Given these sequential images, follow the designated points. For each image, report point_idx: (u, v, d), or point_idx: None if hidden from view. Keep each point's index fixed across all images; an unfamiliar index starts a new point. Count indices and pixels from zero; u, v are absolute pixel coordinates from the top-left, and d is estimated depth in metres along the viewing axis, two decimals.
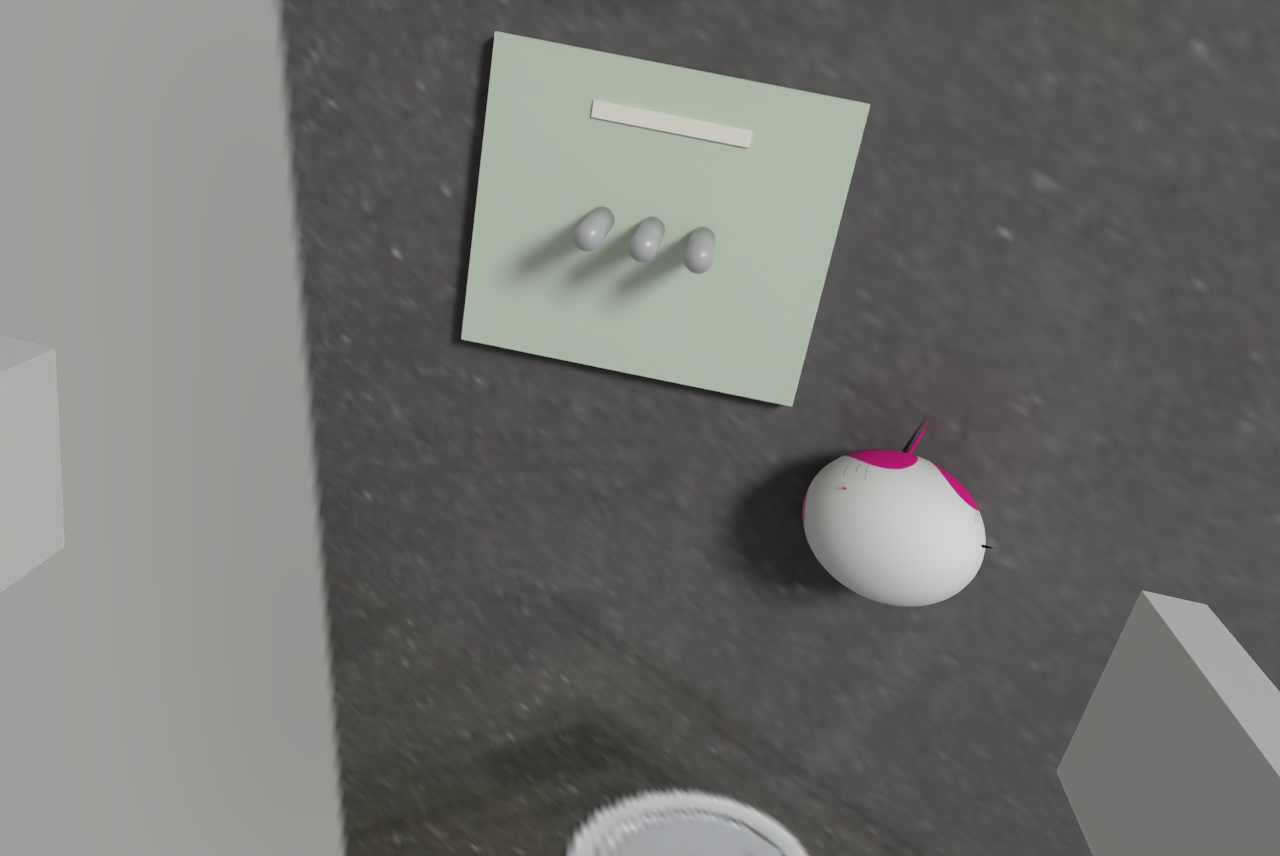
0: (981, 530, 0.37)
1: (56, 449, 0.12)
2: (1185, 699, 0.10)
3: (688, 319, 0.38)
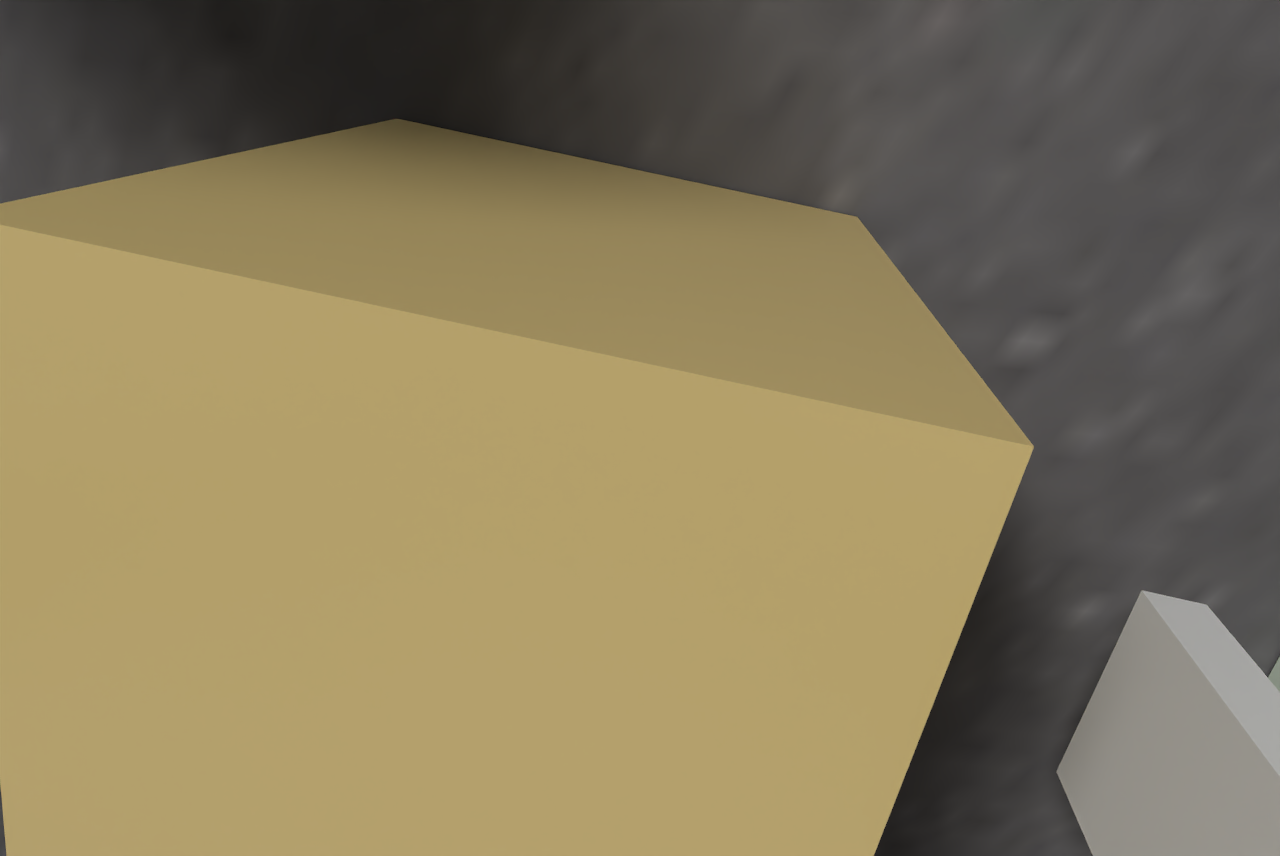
0: None
1: None
2: (1184, 699, 0.10)
3: None
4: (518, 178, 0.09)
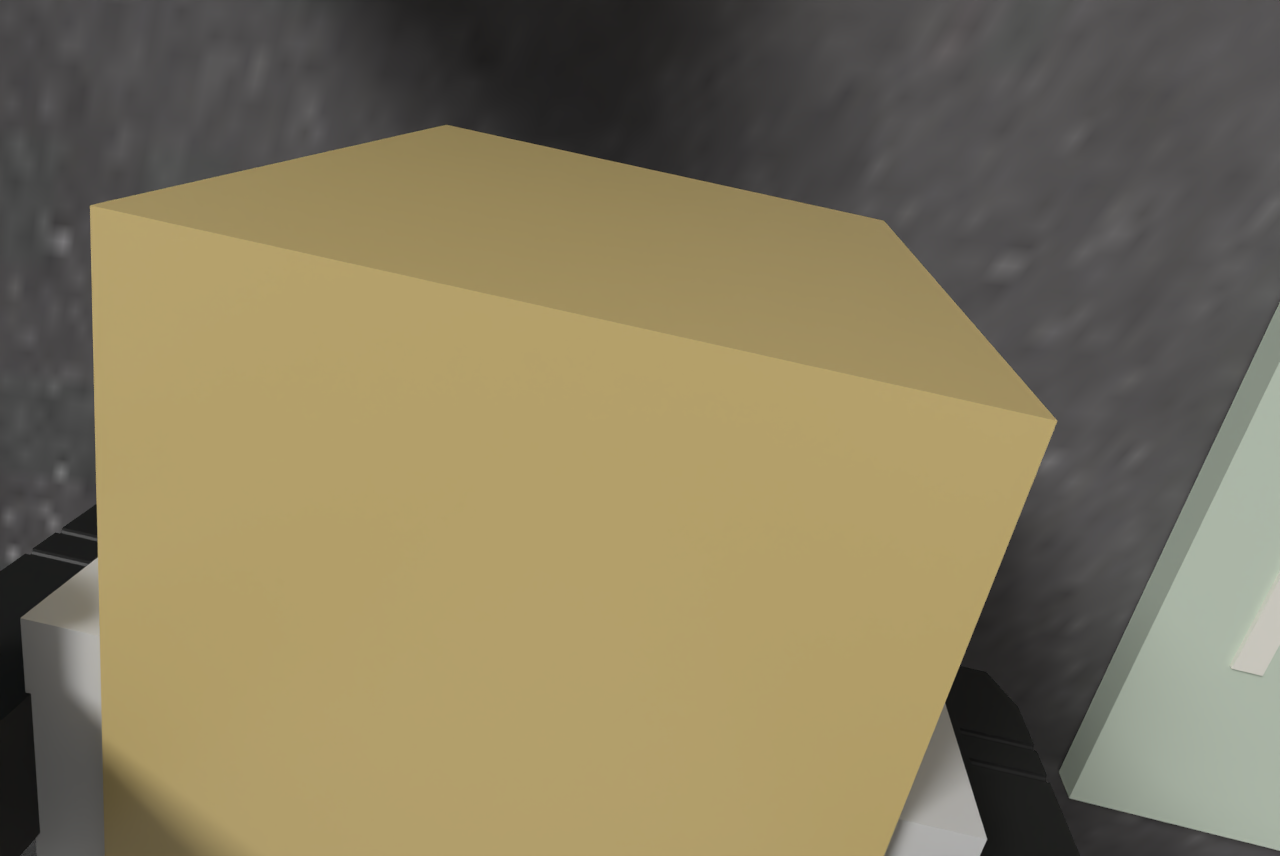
0: None
1: None
2: None
3: None
4: (567, 181, 0.10)
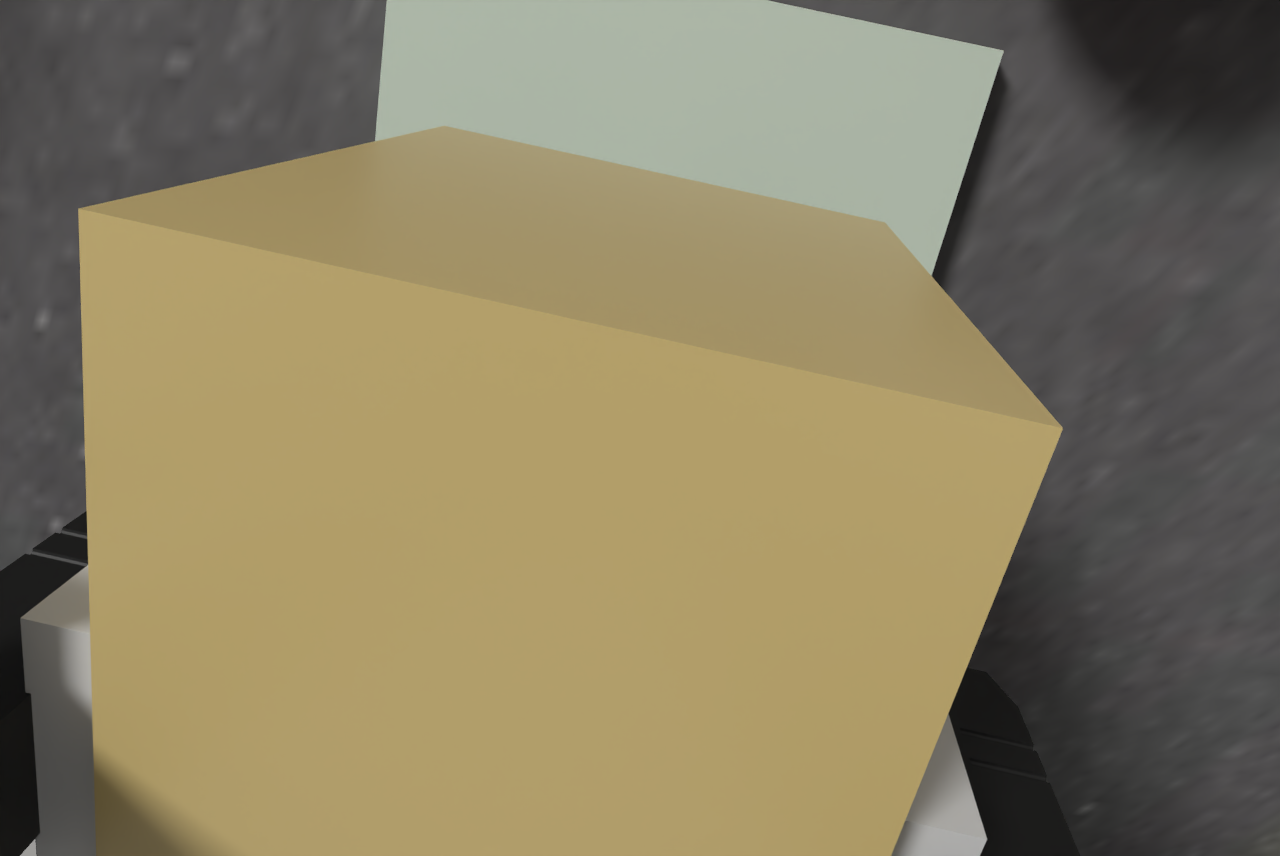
0: None
1: None
2: None
3: None
4: (565, 182, 0.10)
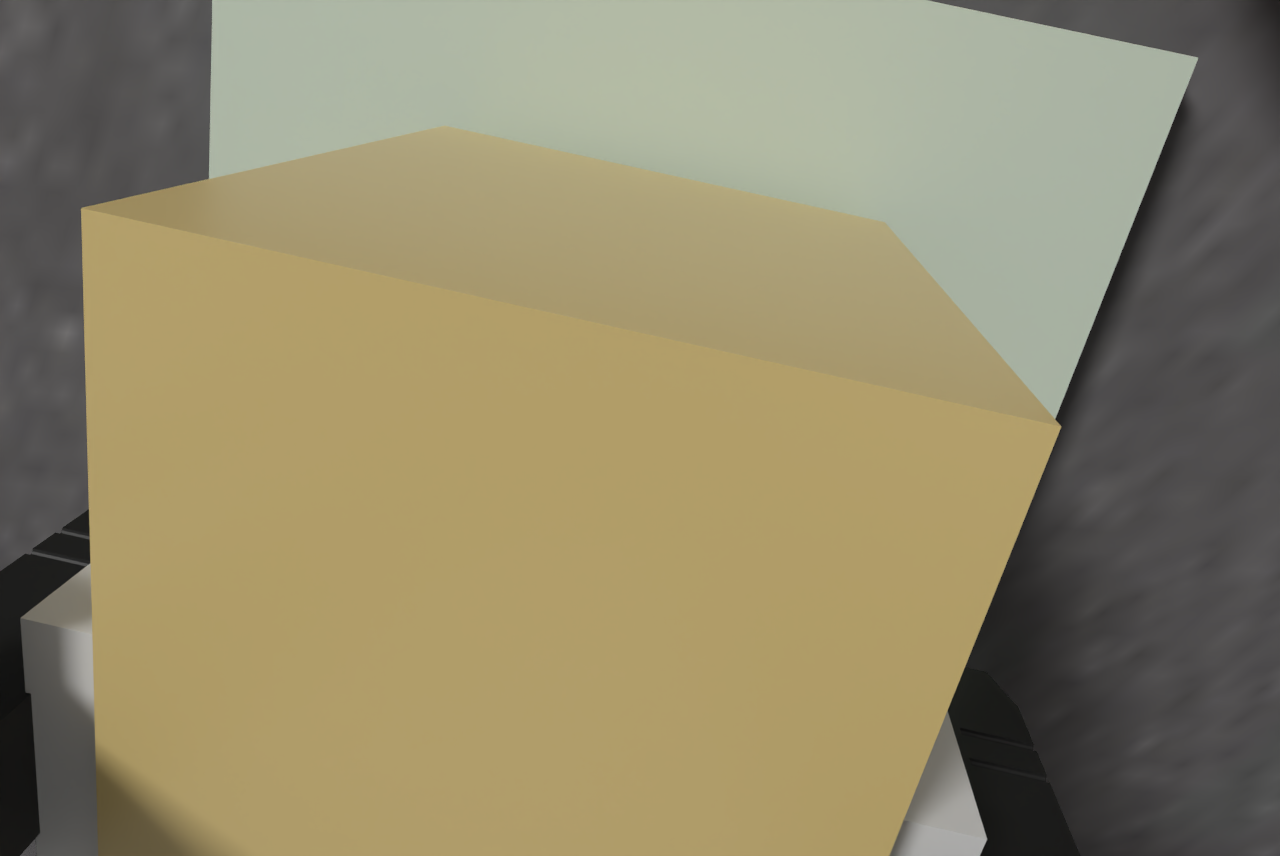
0: None
1: None
2: None
3: None
4: (565, 182, 0.10)
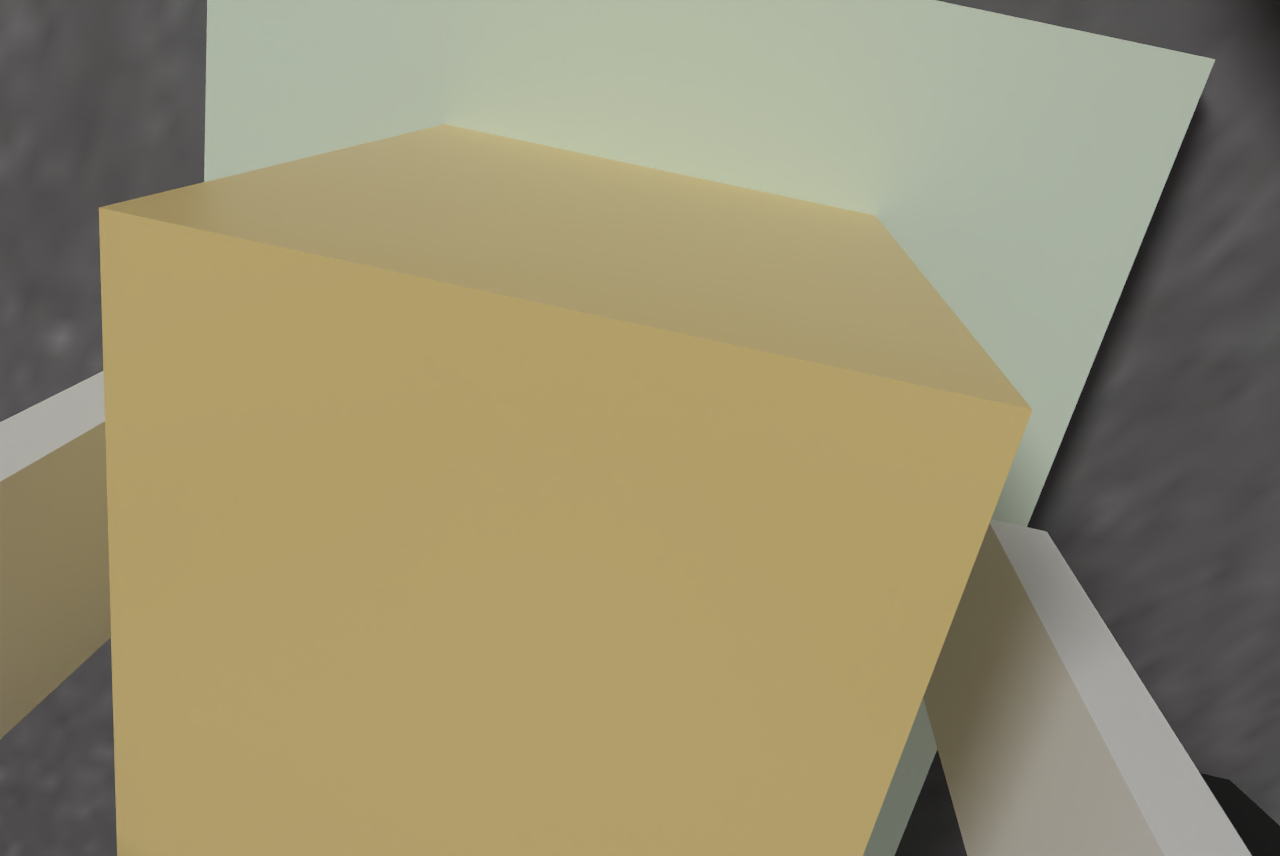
0: None
1: None
2: (1009, 608, 0.11)
3: None
4: (562, 179, 0.10)
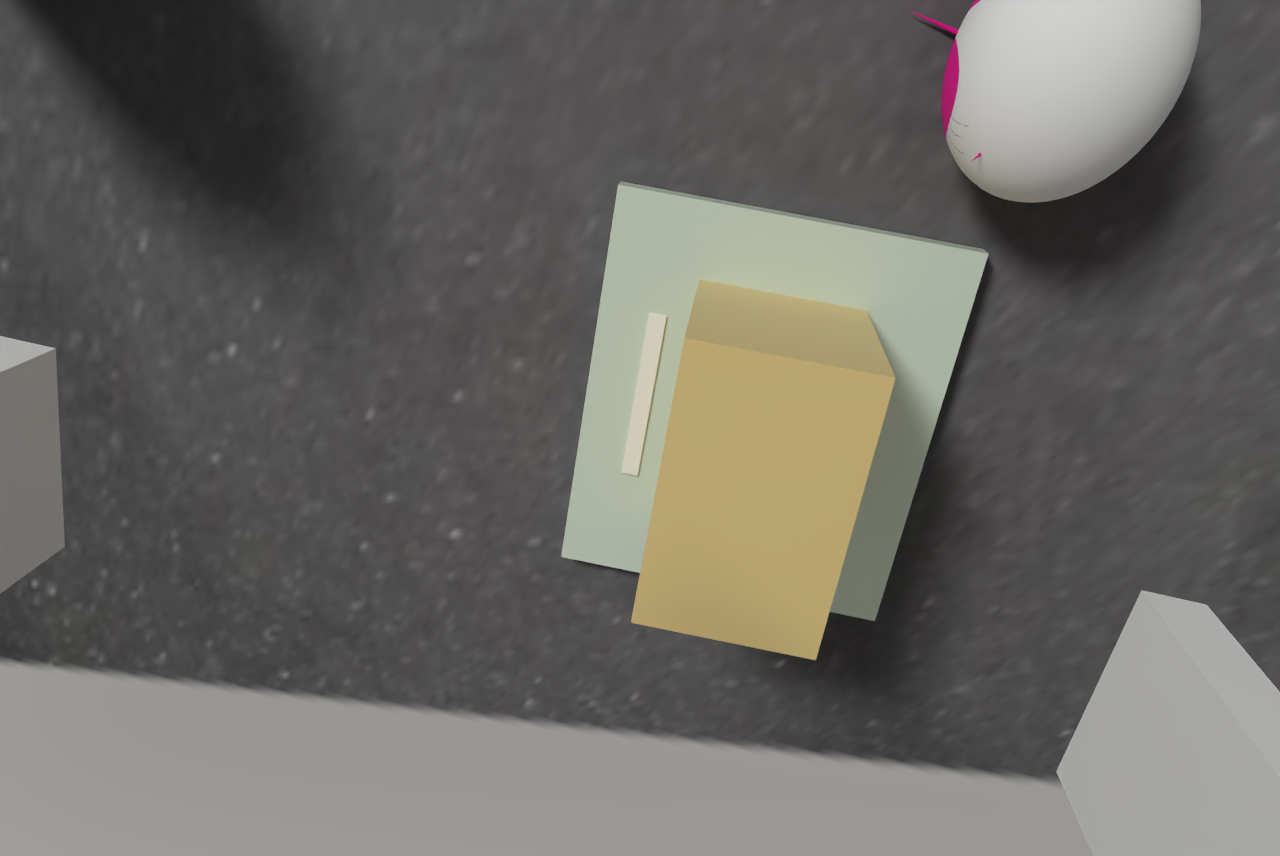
0: None
1: (56, 448, 0.12)
2: (1184, 699, 0.10)
3: None
4: (757, 307, 0.29)
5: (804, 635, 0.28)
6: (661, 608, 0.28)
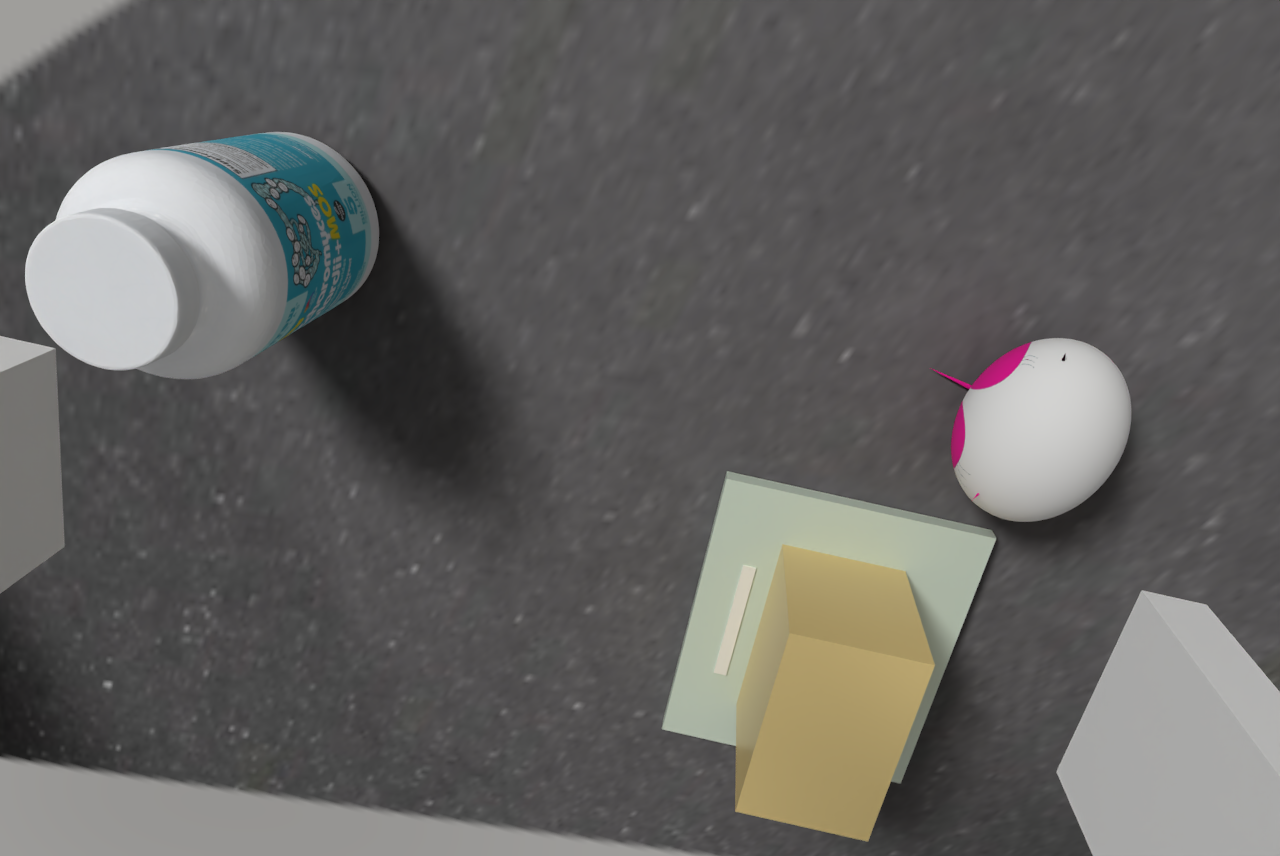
0: (1045, 358, 0.35)
1: (56, 449, 0.12)
2: (1184, 699, 0.10)
3: None
4: (830, 580, 0.40)
5: (860, 825, 0.39)
6: (758, 803, 0.39)
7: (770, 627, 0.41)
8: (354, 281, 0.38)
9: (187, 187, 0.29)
